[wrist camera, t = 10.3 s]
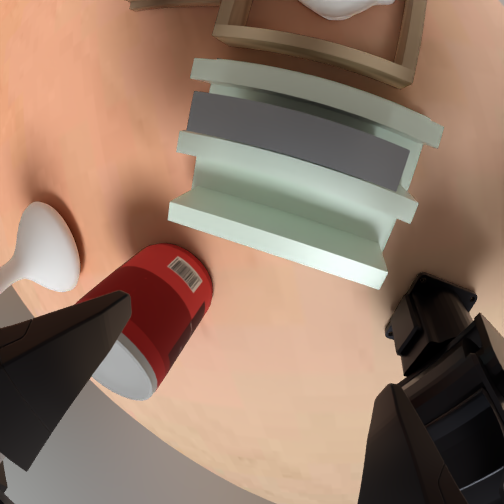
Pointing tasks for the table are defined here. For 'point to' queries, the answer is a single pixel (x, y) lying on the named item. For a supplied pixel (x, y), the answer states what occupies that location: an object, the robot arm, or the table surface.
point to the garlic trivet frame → (327, 43)
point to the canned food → (153, 317)
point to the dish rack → (300, 175)
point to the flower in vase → (43, 251)
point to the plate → (299, 136)
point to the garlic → (341, 7)
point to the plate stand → (169, 3)
